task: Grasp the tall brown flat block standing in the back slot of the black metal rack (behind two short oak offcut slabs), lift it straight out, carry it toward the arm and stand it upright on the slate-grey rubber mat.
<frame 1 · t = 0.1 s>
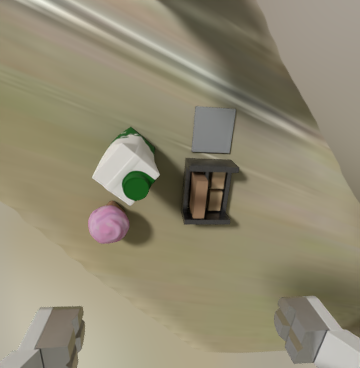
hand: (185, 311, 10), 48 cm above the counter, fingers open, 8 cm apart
milk carton: (133, 148, 56), on the counter
cupcake: (112, 210, 61), on the counter
oak offcut b: (213, 197, 63), resting in rack
oak offcut a: (215, 175, 60), resting in rack
grey mat: (212, 130, 56), on the counter
rack: (205, 186, 61), on the counter
brown flat block: (194, 186, 61), resting in rack
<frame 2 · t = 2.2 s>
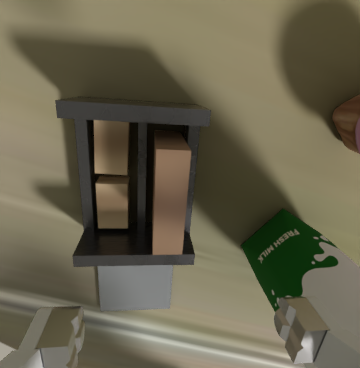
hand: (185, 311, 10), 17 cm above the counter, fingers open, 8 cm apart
milk carton: (277, 241, 32), on the counter
cupcake: (352, 116, 26), on the counter
oak offcut b: (115, 142, 25), resting in rack
oak offcut a: (115, 196, 27), resting in rack
grey mat: (136, 276, 31), on the counter
rack: (139, 172, 26), on the counter
brown flat block: (165, 172, 26), resting in rack
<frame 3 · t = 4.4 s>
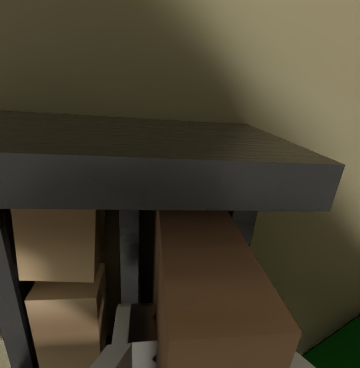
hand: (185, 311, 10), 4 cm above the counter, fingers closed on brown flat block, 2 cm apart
oak offcut b: (73, 203, 12), resting in rack
oak offcut a: (80, 296, 14), resting in rack
rack: (125, 256, 13), on the counter
brown flat block: (176, 255, 13), resting in rack, touching gripper
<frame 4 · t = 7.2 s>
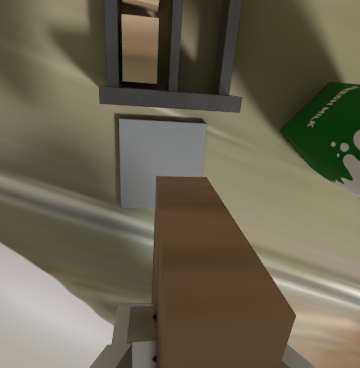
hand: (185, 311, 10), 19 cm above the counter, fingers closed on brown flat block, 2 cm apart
milk carton: (320, 129, 28), on the counter
oak offcut a: (140, 53, 23), resting in rack
grey mat: (161, 166, 27), on the counter
rack: (171, 19, 22), on the counter
brown flat block: (176, 252, 14), point 15 cm above the counter, touching gripper
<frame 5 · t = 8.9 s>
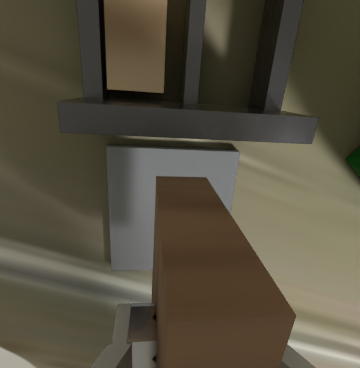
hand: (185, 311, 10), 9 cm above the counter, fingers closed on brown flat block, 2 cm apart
oak offcut a: (138, 45, 15), resting in rack
grey mat: (170, 211, 19), on the counter
brown flat block: (175, 252, 14), point 5 cm above the counter, touching gripper
when the fingers open (5 cm above the counter, at t = 10.0 s): brown flat block stays where it is, resting on grey mat.
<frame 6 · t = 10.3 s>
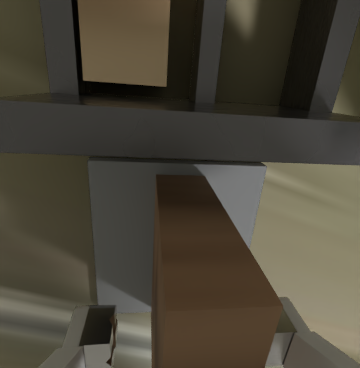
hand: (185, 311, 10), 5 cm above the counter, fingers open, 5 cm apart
oak offcut a: (130, 20, 10), resting in rack
grey mat: (174, 240, 15), on the counter
brown flat block: (175, 248, 14), point 1 cm above the counter, touching grey mat
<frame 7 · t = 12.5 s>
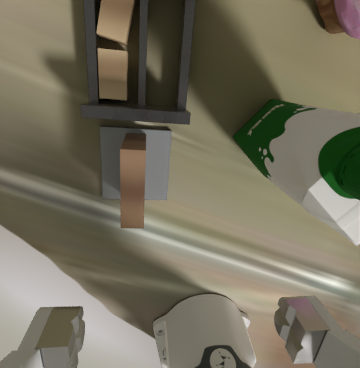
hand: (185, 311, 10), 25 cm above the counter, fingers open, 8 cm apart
milk carton: (266, 135, 34), on the counter
cupcake: (334, 4, 29), on the counter
oak offcut b: (118, 16, 27), resting in rack
oak offcut a: (115, 75, 29), resting in rack
grey mat: (136, 164, 33), on the counter
rack: (140, 49, 28), on the counter
brown flat block: (135, 167, 33), point 1 cm above the counter, touching grey mat
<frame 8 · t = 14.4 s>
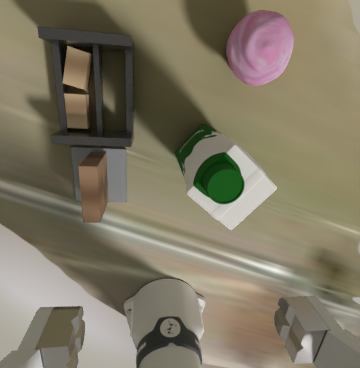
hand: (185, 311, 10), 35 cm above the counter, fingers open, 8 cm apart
milk carton: (201, 151, 44), on the counter
cupcake: (242, 55, 39), on the counter
oak offcut b: (80, 69, 37), resting in rack
oak offcut a: (80, 110, 39), resting in rack
grey mat: (100, 175, 44), on the counter
rack: (97, 91, 38), on the counter
brown flat block: (100, 176, 43), point 1 cm above the counter, touching grey mat
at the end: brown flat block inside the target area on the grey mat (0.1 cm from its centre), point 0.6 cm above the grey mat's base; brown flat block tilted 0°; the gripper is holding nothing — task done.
